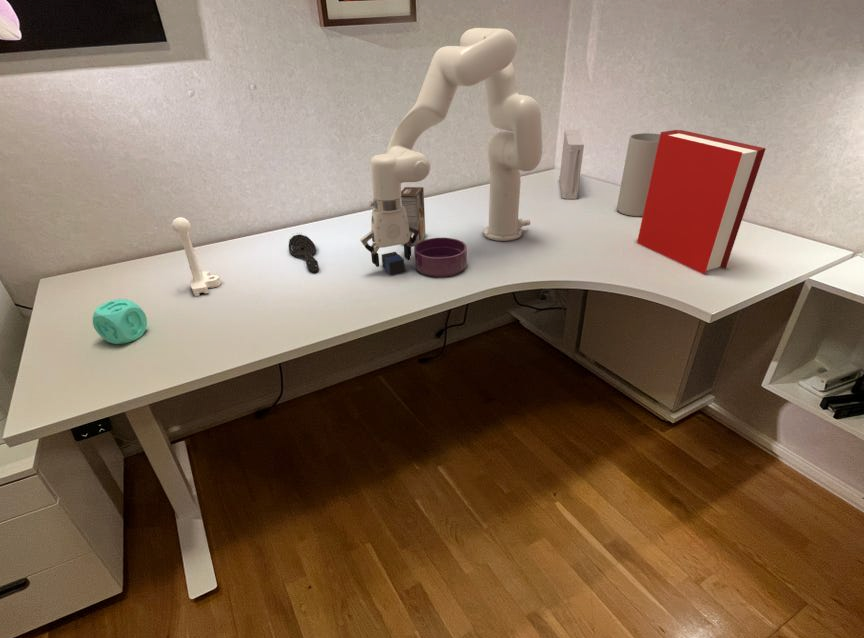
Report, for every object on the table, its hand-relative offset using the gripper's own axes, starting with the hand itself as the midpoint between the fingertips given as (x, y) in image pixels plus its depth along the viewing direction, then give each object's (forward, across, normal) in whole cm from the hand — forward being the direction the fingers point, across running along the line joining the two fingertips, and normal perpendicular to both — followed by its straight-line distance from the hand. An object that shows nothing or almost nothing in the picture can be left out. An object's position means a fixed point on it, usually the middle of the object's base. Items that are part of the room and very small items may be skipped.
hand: (392, 262), depth 146 cm
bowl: (+2, +13, -5) cm, 14 cm away
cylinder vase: (+1, +95, +4) cm, 95 cm away
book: (+2, +79, -31) cm, 85 cm away
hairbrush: (+3, -21, +21) cm, 30 cm away
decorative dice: (+4, -71, -4) cm, 71 cm away
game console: (+1, +91, +38) cm, 99 cm away
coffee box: (+2, +14, +18) cm, 23 cm away
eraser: (+2, 0, 0) cm, 2 cm away
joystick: (+3, -51, +15) cm, 53 cm away
